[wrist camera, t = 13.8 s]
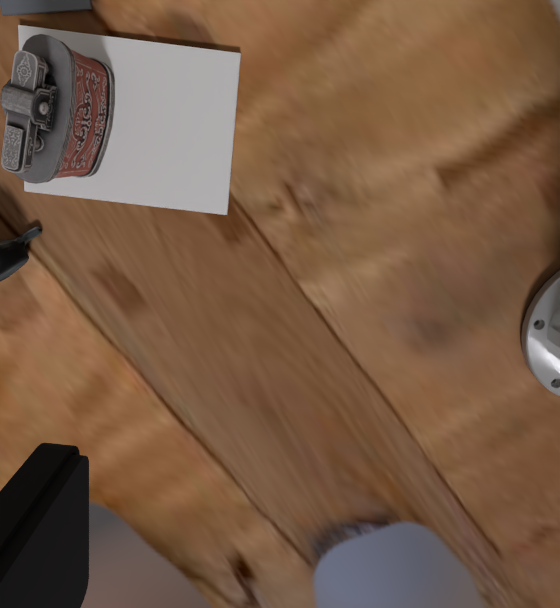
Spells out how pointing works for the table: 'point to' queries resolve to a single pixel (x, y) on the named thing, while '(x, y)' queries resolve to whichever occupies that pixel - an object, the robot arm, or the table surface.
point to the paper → (159, 124)
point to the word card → (42, 6)
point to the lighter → (56, 112)
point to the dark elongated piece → (15, 252)
